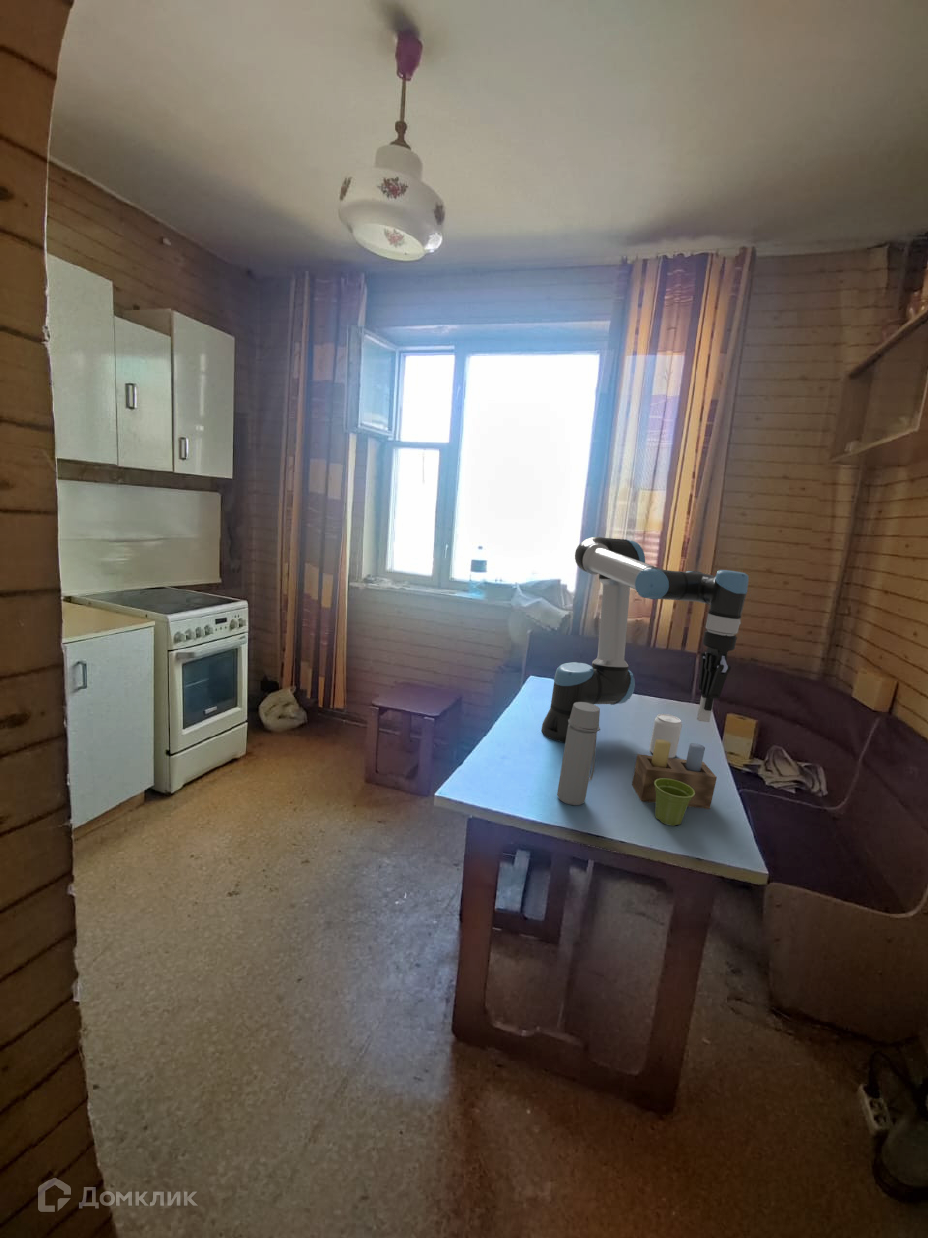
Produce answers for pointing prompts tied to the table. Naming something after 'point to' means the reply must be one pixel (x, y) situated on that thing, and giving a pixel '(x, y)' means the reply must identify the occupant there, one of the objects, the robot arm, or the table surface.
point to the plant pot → (671, 800)
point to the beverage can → (666, 732)
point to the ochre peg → (660, 753)
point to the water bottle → (579, 753)
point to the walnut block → (674, 770)
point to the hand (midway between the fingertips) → (702, 720)
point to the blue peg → (694, 757)
